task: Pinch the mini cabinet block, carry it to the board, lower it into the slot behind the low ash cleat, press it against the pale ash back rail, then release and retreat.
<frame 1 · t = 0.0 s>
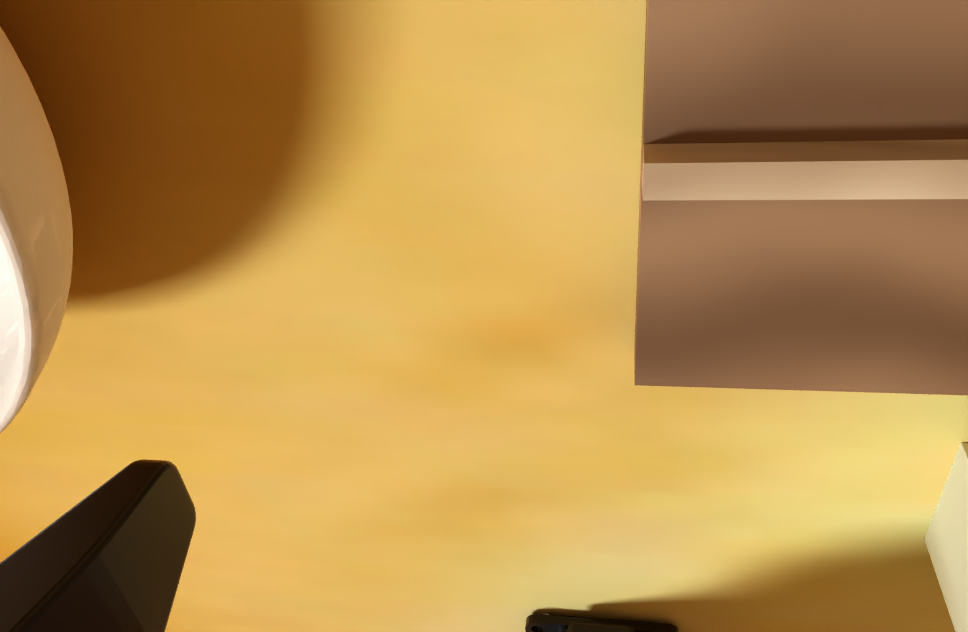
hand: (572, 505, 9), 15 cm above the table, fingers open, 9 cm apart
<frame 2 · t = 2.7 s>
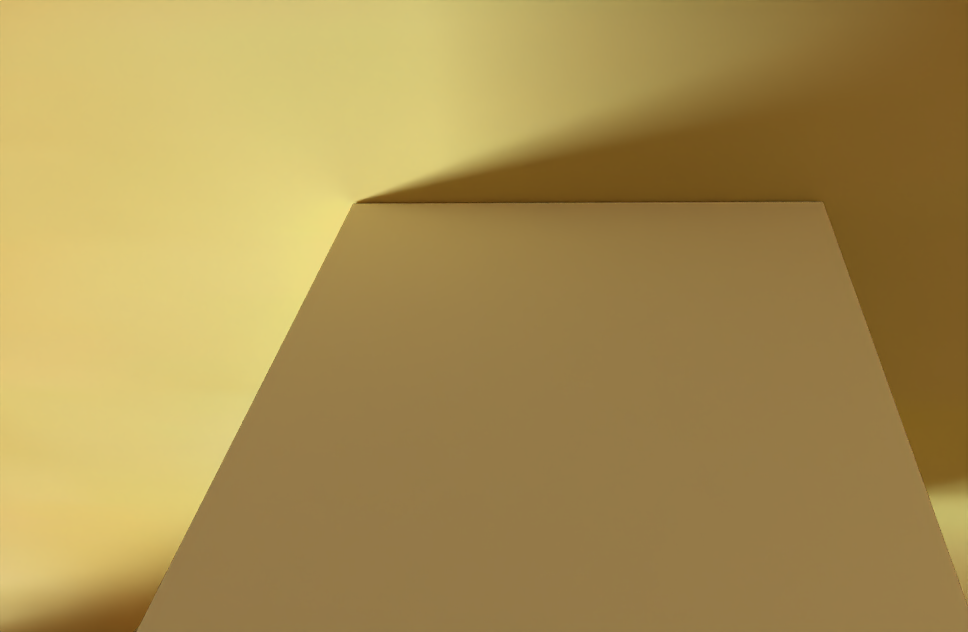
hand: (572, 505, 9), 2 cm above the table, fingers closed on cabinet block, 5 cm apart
cabinet block: (580, 376, 10), on the table, touching gripper
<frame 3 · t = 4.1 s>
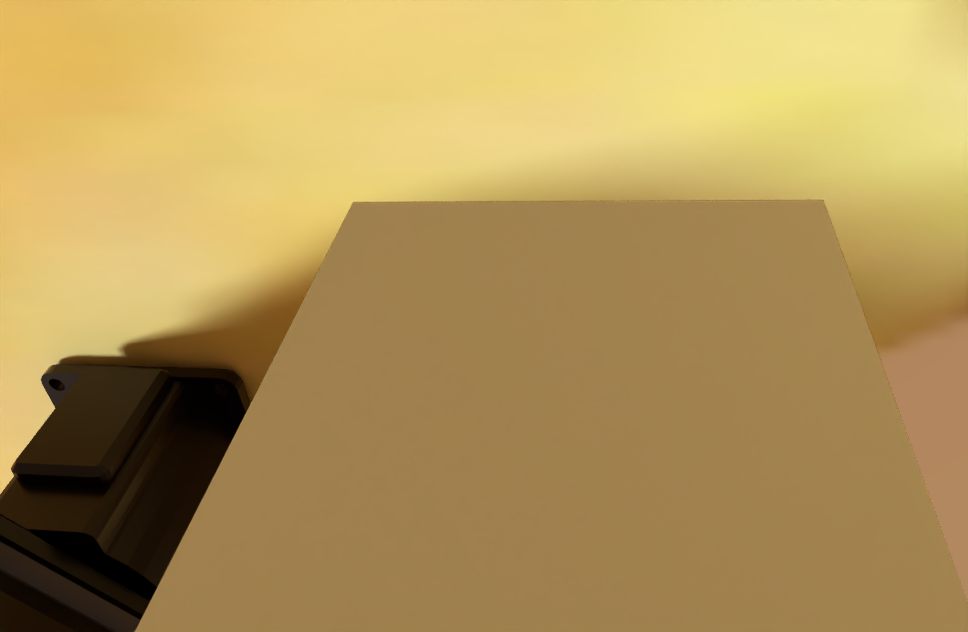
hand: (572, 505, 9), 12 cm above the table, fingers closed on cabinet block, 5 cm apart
cabinet block: (580, 374, 10), point 10 cm above the table, touching gripper
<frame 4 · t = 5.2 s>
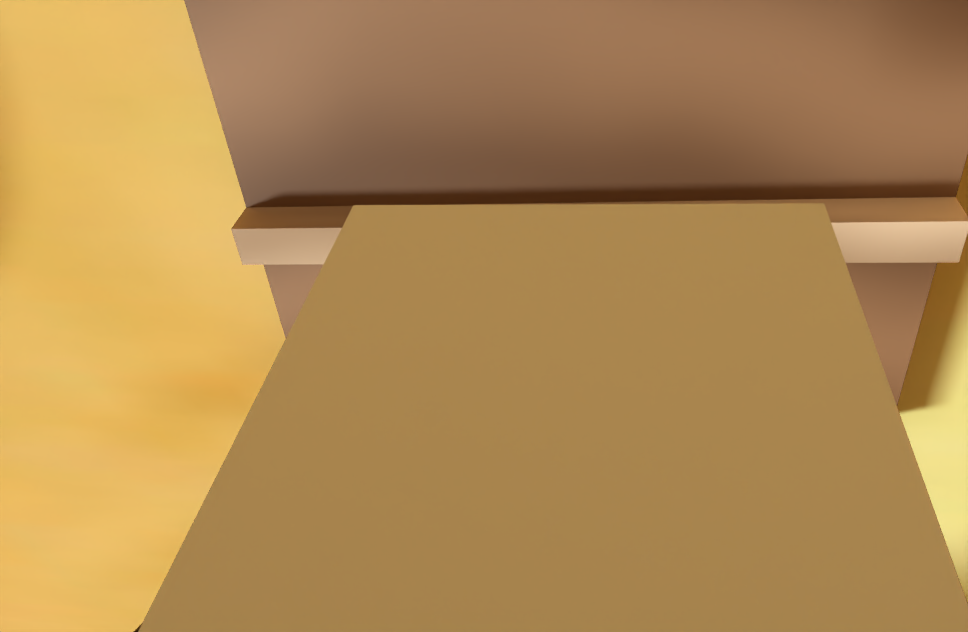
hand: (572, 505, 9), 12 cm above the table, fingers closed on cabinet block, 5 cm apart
cleat board: (579, 171, 20), on the table
cabinet block: (581, 377, 10), point 10 cm above the table, touching gripper
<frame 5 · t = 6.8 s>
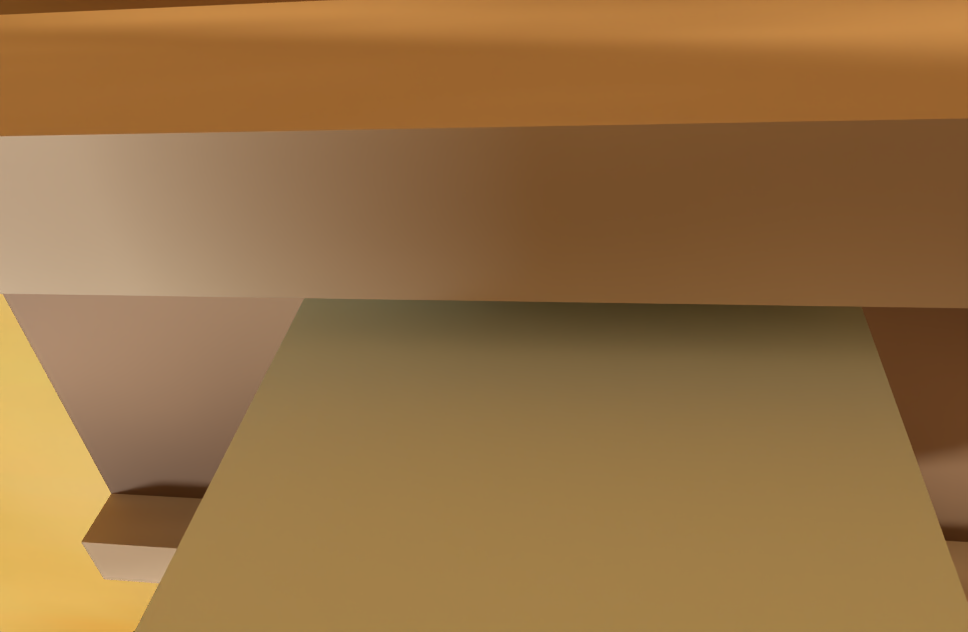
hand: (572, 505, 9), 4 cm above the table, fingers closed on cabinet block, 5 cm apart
cleat board: (588, 448, 14), on the table
cabinet block: (580, 376, 10), point 2 cm above the table, touching gripper
when the fingers open (4 cm above the table, at t = 8.1 s): cabinet block stays where it is, resting on cleat board.
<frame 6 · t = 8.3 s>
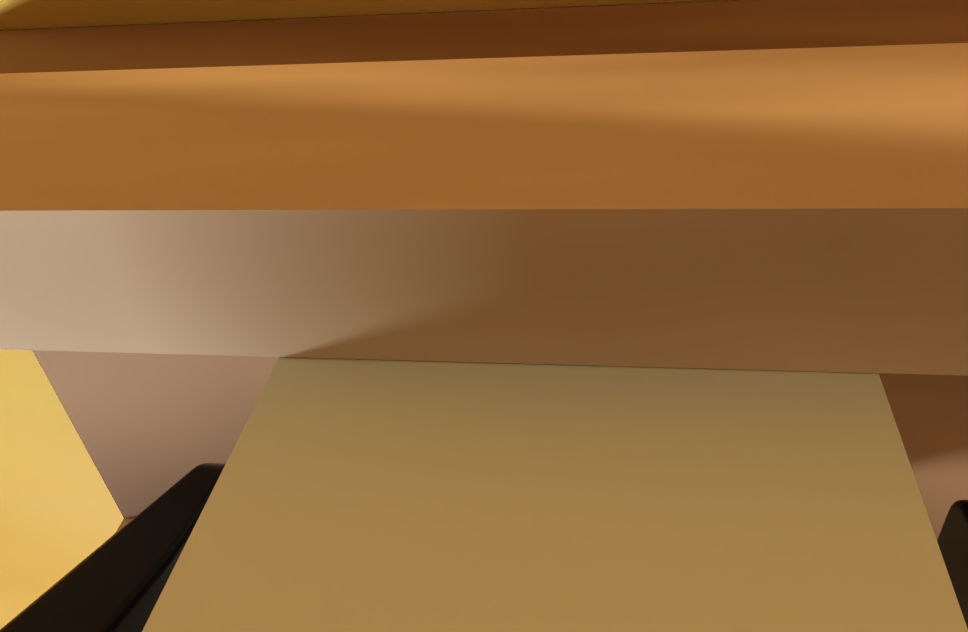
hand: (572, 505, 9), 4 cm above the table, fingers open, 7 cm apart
cleat board: (588, 474, 14), on the table
cabinet block: (581, 357, 11), point 1 cm above the table, touching cleat board
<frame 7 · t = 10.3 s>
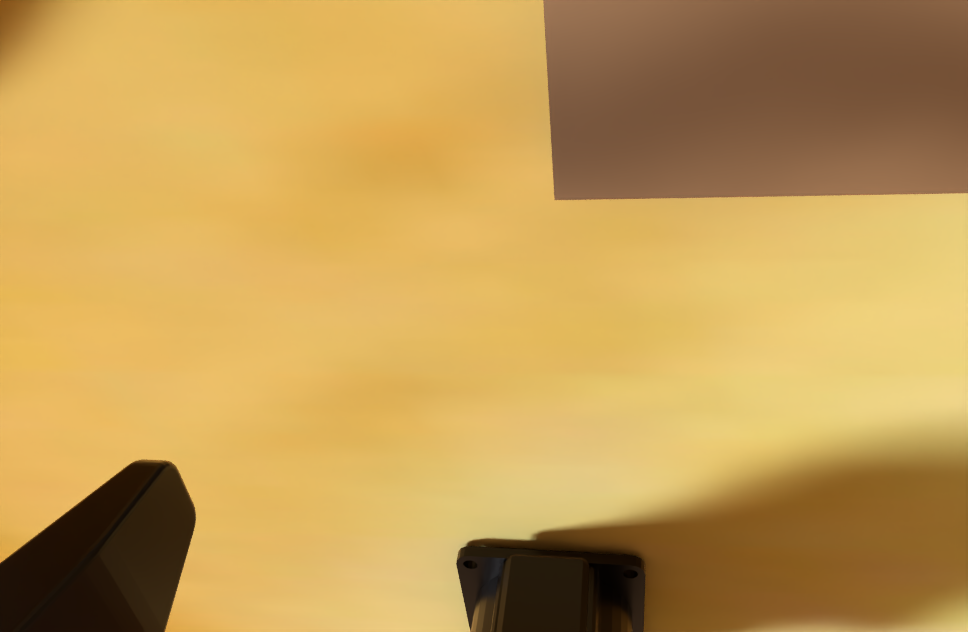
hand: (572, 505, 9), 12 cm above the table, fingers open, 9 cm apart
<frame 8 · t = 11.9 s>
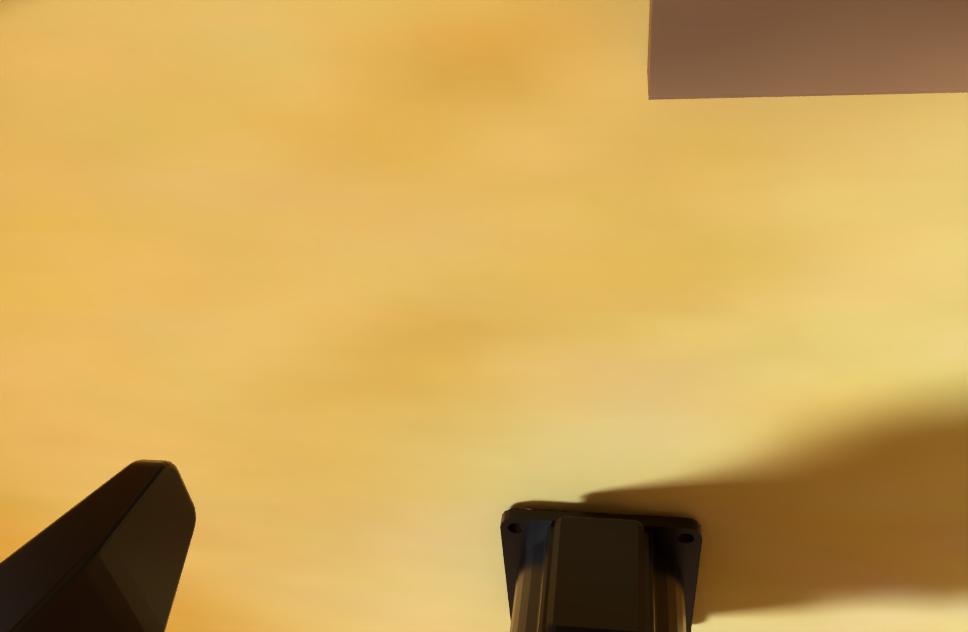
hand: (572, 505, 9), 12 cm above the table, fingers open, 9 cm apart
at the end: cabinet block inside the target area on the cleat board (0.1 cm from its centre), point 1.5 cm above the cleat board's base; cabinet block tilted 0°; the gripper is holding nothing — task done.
